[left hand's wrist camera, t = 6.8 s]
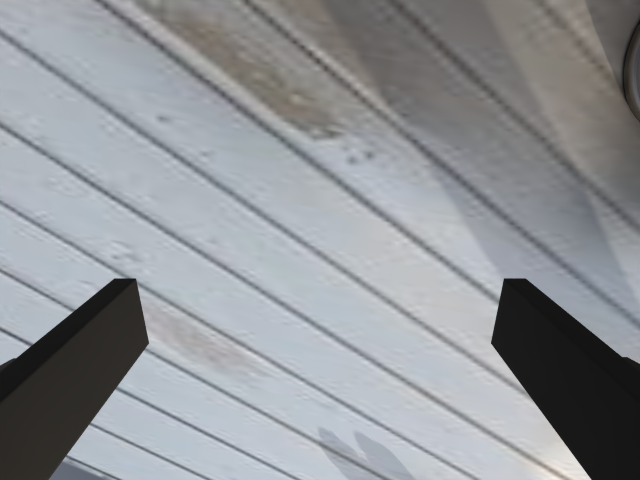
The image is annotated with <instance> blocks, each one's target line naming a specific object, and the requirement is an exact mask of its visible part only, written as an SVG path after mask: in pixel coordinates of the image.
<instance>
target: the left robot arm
mask: <svg viewBox="0 0 640 480" xmlns="http://www.w3.org/2000/svg"><path fill="white" fill-rule="evenodd" d="M624 90H625V94H626V98H627V101H628V104H629V106H630V109H631V111H632V112H633V114H634V115H635V117H636V118H637V119H638V120H639V121H640V23H639V25H638V27H637V28H636V31H635V33H634V35H633V37H632V40H631V42H630V45H629V48H628V52H627V55H626V60H625V66H624ZM148 344H149V341H148V336H147V331H146V326H145V321H144V316H143V311H142V306H141V301H140V296H139V291H138V286H137V281H136V279H113V280H112V281H111V282H110V283H108V284H107V285H106V286H105V287H103V288H102V289H101V290H100V291H99V292H97V293H96V294H95V295H94V296H92V297H91V298H90V299H89V300H87V301H86V302H85V303H84V304H83V305H81V306H80V307H79V308H78V309H76V310H75V311H74V312H73V313H72V314H70V315H69V316H68V317H67V318H65V319H64V320H63V321H62V322H60V323H59V324H58V325H57V326H56V327H54V328H53V329H52V330H51V331H49V332H48V333H47V334H46V335H44V336H43V337H42V338H41V339H40V340H38V341H37V342H36V343H35V344H33V345H32V346H31V347H30V348H28V349H27V350H26V351H25V352H24V353H22V354H21V355H20V356H19V357H17V358H13V359H11V360H9V361H8V362H6V363H4V364H2V365H0V480H49V478H50V477H51V475H52V474H53V473H54V471H55V470H56V469H57V467H58V466H59V465H60V463H61V462H62V461H63V459H64V458H65V456H66V455H67V454H68V452H69V451H70V450H71V448H72V447H73V446H74V444H75V443H76V442H77V440H78V439H79V438H80V436H81V435H82V433H83V432H84V431H85V429H86V428H87V427H88V425H89V424H90V423H91V421H92V420H93V419H94V417H95V416H96V414H97V413H98V412H99V410H100V409H101V408H102V406H103V405H104V404H105V402H106V401H107V400H108V398H109V397H110V395H111V394H112V393H113V391H114V390H115V389H116V387H117V386H118V385H119V383H120V382H121V381H122V379H123V378H124V376H125V375H126V374H127V372H128V371H129V370H130V368H131V367H132V366H133V364H134V363H135V362H136V360H137V359H138V357H139V356H140V355H141V353H142V352H143V351H144V349H145V348H146V347H147V345H148ZM491 344H492V345H493V347H494V348H495V349H496V351H497V352H498V353H499V355H500V356H501V357H502V359H503V360H504V362H505V363H506V364H507V366H508V367H509V368H510V370H511V371H512V372H513V374H514V375H515V376H516V378H517V379H518V381H519V382H520V383H521V385H522V386H523V387H524V389H525V390H526V391H527V393H528V394H529V395H530V397H531V398H532V400H533V401H534V402H535V404H536V405H537V406H538V408H539V409H540V410H541V412H542V413H543V414H544V416H545V417H546V419H547V420H548V421H549V423H550V424H551V425H552V427H553V428H554V429H555V431H556V432H557V433H558V435H559V436H560V438H561V439H562V440H563V442H564V443H565V444H566V446H567V447H568V448H569V450H570V451H571V452H572V454H573V455H574V456H575V458H576V459H577V461H578V462H579V463H580V465H581V466H582V467H583V469H584V470H585V471H586V473H587V474H588V475H589V477H590V478H591V480H640V364H639V363H637V362H635V361H633V360H631V359H630V358H628V357H621V356H620V355H619V354H618V353H616V352H615V351H614V350H613V349H612V348H610V347H609V346H608V345H607V344H605V343H604V342H603V341H602V340H600V339H599V338H598V337H597V336H596V335H594V334H593V333H592V332H591V331H589V330H588V329H587V328H586V327H584V326H583V325H582V324H581V323H580V322H578V321H577V320H576V319H575V318H573V317H572V316H571V315H570V314H568V313H567V312H566V311H565V310H564V309H562V308H561V307H560V306H559V305H557V304H556V303H555V302H554V301H553V300H551V299H550V298H549V297H548V296H546V295H545V294H544V293H543V292H541V291H540V290H539V289H538V288H537V287H535V286H534V285H533V284H532V283H530V282H529V281H528V280H527V279H504V281H503V286H502V291H501V296H500V301H499V306H498V311H497V316H496V321H495V326H494V331H493V336H492V341H491Z"/></svg>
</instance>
